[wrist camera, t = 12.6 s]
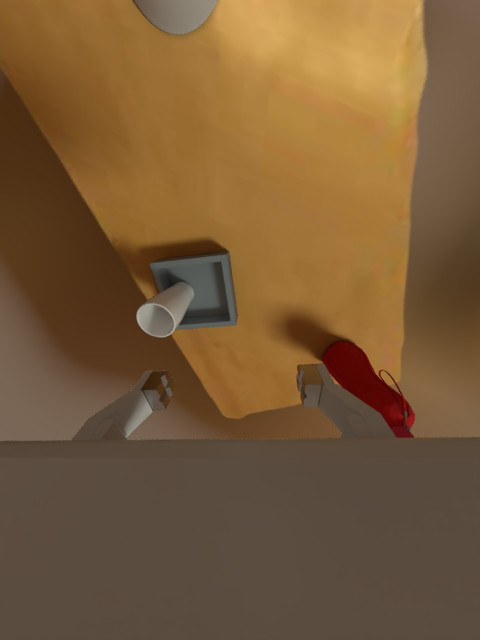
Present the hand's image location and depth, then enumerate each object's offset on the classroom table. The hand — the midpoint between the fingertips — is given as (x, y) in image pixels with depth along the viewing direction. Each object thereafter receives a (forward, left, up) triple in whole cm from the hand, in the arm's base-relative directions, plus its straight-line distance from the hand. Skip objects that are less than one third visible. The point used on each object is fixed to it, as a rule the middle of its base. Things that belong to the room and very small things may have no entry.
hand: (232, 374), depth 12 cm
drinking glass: (+4, -15, -33) cm, 36 cm away
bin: (+4, -11, -34) cm, 36 cm away
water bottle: (+26, +25, -34) cm, 50 cm away
